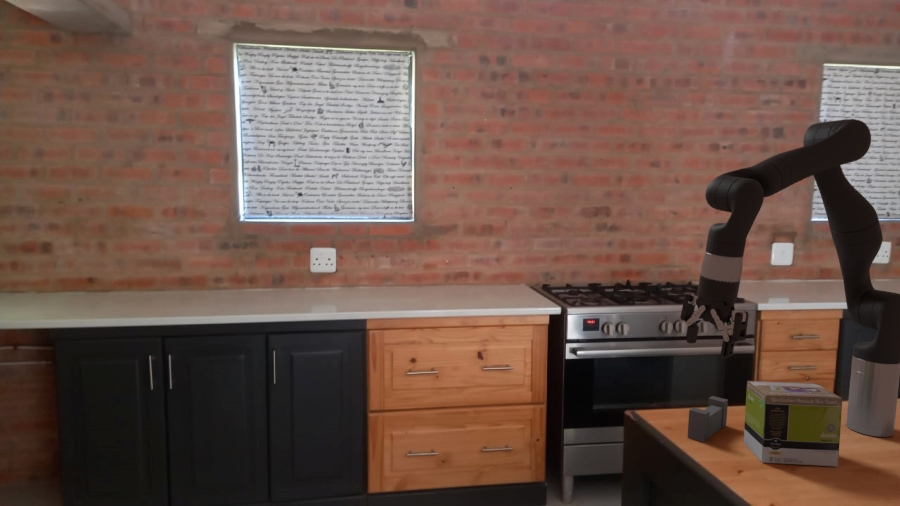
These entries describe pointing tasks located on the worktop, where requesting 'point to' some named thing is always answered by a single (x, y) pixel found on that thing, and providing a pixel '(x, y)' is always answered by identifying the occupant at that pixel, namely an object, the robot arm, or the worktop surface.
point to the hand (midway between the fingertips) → (707, 350)
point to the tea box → (792, 423)
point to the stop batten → (707, 419)
